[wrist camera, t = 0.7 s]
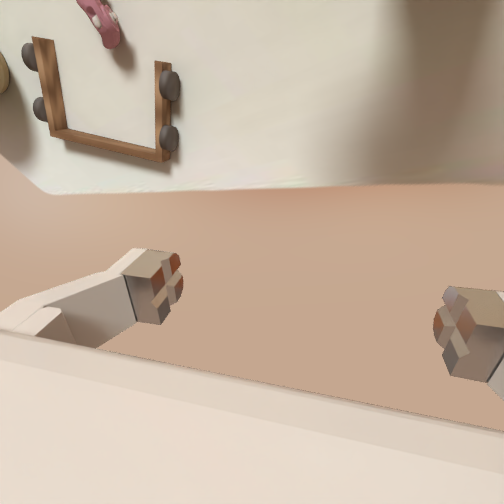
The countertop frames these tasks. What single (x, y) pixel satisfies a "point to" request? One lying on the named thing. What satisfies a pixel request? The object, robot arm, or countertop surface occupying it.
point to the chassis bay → (52, 111)
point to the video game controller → (102, 21)
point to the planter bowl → (3, 74)
